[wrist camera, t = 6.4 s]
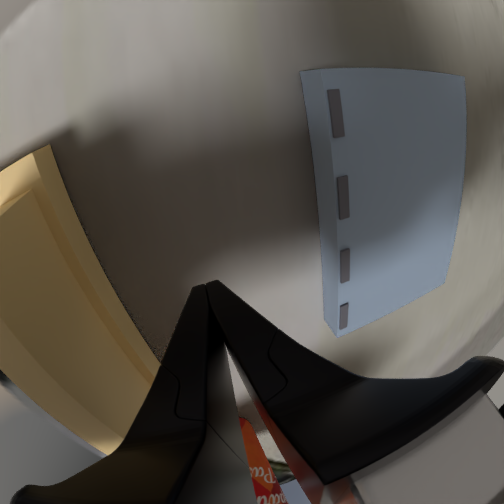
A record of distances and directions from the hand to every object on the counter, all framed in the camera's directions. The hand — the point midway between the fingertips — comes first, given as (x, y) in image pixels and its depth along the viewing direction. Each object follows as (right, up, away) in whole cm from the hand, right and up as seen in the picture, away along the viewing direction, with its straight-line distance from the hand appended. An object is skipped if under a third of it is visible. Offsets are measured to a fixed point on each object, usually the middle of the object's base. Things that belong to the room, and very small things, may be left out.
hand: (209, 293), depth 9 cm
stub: (-7, -1, +1) cm, 7 cm away
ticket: (+8, +4, +3) cm, 9 cm away
